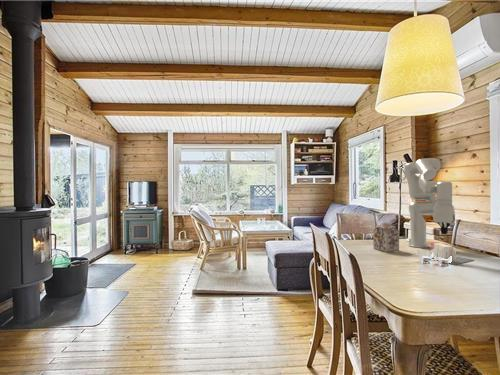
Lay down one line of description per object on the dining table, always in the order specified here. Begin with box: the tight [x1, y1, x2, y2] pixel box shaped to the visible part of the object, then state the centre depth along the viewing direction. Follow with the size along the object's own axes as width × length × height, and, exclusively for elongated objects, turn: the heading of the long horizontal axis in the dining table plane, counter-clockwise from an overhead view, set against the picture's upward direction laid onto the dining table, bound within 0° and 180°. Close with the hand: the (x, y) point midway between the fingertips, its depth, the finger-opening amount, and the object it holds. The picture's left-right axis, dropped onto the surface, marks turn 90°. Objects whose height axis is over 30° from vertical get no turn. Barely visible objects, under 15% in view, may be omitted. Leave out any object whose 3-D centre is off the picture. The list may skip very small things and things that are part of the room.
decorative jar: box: [372, 222, 400, 253], centre depth 196 cm, size 12×12×18 cm
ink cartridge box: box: [430, 242, 457, 262], centre depth 166 cm, size 9×5×15 cm
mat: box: [449, 256, 475, 266], centre depth 167 cm, size 14×20×1 cm
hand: (444, 233), depth 170 cm, fingers closed
